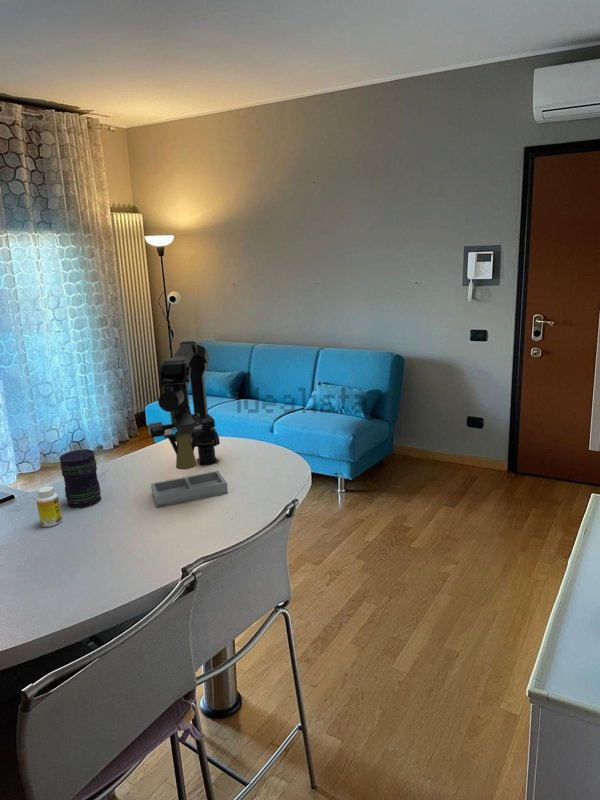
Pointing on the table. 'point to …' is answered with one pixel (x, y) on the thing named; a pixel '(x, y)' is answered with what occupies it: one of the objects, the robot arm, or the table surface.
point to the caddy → (188, 488)
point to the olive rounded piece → (184, 451)
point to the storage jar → (80, 478)
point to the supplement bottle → (48, 507)
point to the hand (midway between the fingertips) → (184, 453)
